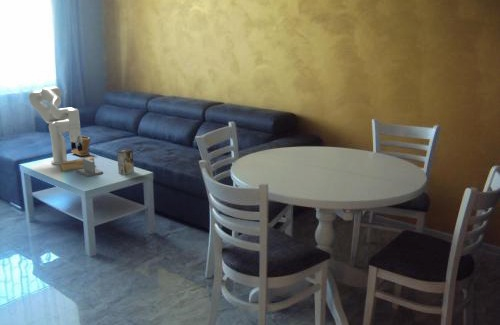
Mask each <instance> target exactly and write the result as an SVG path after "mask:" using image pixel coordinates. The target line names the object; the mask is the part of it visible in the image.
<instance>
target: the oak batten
mask: <svg viewBox="0 0 500 325" xmlns="http://www.w3.org/2000/svg"><path fill="white" fill-rule="evenodd" d="M83 158H84V157H83ZM83 158H78V159H72V160H69V161H66V162H61V163H60V164H59V165H60V171H61V172H64V173H65V172H69V171H74V170H75V171H76V170H79V169H84V166H83ZM86 158H87V159H90V160H92V161H94V162H95V157H93V156H88V157H86Z"/></svg>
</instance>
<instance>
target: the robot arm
mask: <svg viewBox="0 0 500 325" xmlns="http://www.w3.org/2000/svg"><path fill="white" fill-rule="evenodd" d="M62 94H63V91H62V89H61V88H59V87H58V86H49V87H44V88H42V89H40V90H34V91H31V92H29V94H28V99H29V102H30V105H31V106H32V107H33V108H34V109H35V111H37V112H38V114H39V115H40V116H41V118H42V119H43V120H44V121H45V123H46V124H48V130H49V134H50V139H51V149H52V160H51V164H52V165H60V163H61V162H66V161H70V159H68V155H67V147H66V146H67V145H66V139H65V137H64V135H62V134H64V133H65V134H66V133H68V135H69V137H68V138H69V141H70V147H71V148H70V149H71V150H74V149H78V151H82V150H83V149H82V141H83V140H82V137H81V136H82V131H81V121H80V112H79V108H74V107H70V106H69V107H62V108H58V107H59V106H60V105H61V104H62V98H61V97H62ZM44 102H47V103H48V104H49V105H48V104H47V103H44ZM76 144H77V145H76Z"/></svg>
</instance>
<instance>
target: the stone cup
mask: <svg viewBox="0 0 500 325" xmlns="http://www.w3.org/2000/svg"><path fill="white" fill-rule="evenodd" d="M81 137H82V140H83V141H82V149H83V150H82V151H78V148H75V149H71V151H70V152H71V153H73V154H75V155H77V156H81V157H84V156H88V155H90V154H91V153H90V152H89V147H90V144H91V137H89V136H85V135H81Z"/></svg>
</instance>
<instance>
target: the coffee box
mask: <svg viewBox="0 0 500 325" xmlns="http://www.w3.org/2000/svg"><path fill="white" fill-rule="evenodd" d="M116 153H117V157H116V158H117V167H118V168H117V170H118V174H119V175H124V176H125V175H127V174H128V175H129V174H132V173H134V172H135V169H134V167H135V166H134V152H133V150H132V149H127V148H125V149H123V150H119V151H116Z"/></svg>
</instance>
